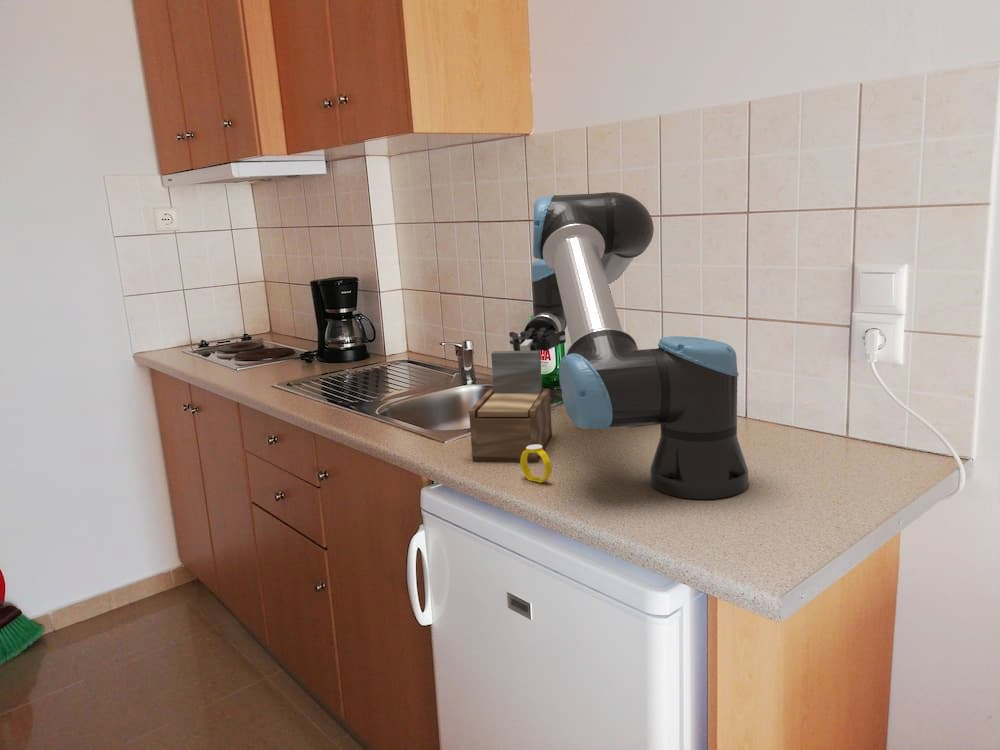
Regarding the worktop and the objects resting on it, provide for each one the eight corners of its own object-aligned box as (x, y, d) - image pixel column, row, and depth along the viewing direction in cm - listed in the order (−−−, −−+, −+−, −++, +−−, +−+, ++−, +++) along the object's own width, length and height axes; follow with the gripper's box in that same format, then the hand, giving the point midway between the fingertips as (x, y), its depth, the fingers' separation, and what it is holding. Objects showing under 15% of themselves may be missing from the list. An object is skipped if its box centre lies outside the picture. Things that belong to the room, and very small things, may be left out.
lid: (528, 416, 139) (525, 367, 137) (477, 416, 141) (474, 367, 139) (542, 395, 154) (540, 350, 152) (496, 396, 156) (493, 351, 154)
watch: (555, 482, 130) (554, 447, 129) (544, 487, 128) (542, 452, 127) (529, 474, 134) (527, 441, 133) (518, 479, 132) (516, 445, 131)
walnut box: (537, 462, 140) (535, 410, 138) (472, 461, 143) (469, 410, 141) (551, 435, 155) (549, 388, 153) (492, 435, 158) (489, 389, 156)
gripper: (571, 347, 182) (556, 369, 159) (516, 348, 185) (493, 370, 162) (570, 314, 180) (554, 333, 158) (514, 316, 183) (491, 334, 160)
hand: (523, 352), depth 160 cm, fingers closed
